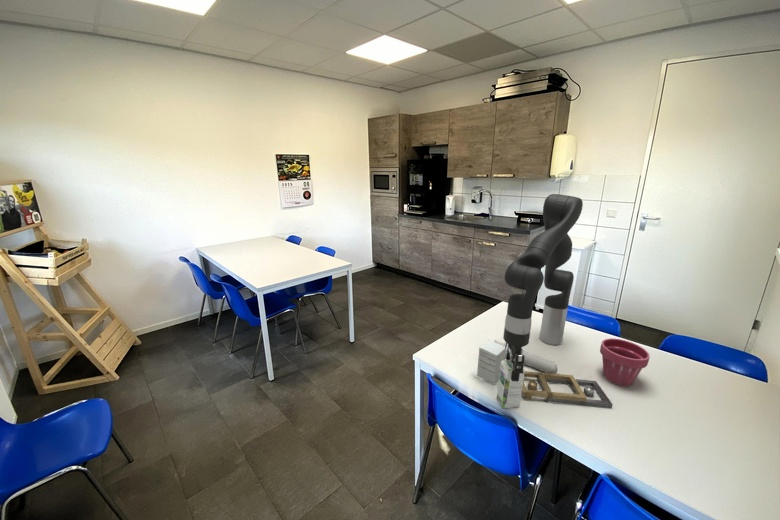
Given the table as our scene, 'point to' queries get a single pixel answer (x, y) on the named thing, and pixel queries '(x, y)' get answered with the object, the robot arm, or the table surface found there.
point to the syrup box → (509, 386)
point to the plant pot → (622, 361)
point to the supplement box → (490, 361)
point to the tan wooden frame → (547, 392)
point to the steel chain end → (588, 391)
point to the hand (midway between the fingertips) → (511, 372)
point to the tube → (537, 362)
